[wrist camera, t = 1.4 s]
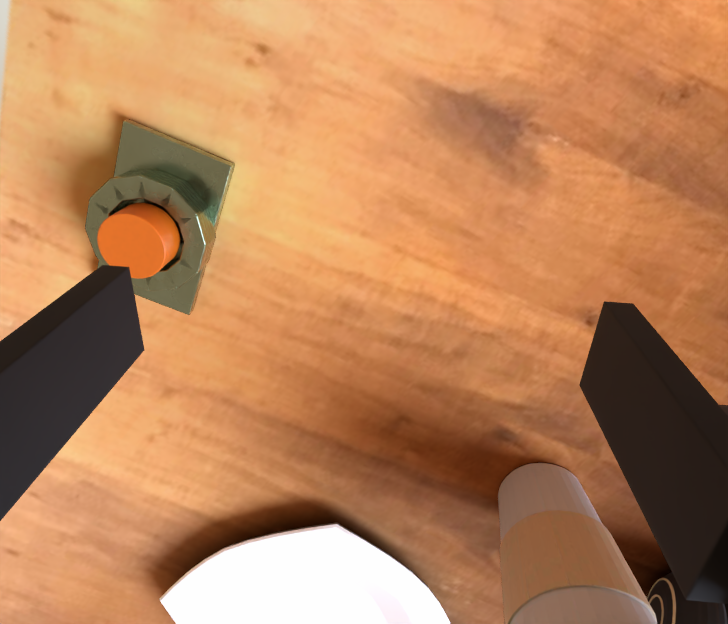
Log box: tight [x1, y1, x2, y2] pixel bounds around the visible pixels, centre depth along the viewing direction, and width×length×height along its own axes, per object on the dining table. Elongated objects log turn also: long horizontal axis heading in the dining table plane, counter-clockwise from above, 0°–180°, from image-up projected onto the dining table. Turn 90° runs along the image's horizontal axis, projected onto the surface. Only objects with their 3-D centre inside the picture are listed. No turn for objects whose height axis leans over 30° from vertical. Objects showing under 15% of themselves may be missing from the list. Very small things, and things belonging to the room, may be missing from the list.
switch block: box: [85, 119, 235, 315], centre depth 29 cm, size 10×6×2 cm, turn 158°
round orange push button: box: [97, 203, 180, 279], centre depth 28 cm, size 4×4×2 cm
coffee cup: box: [498, 463, 657, 624], centre depth 31 cm, size 9×9×15 cm
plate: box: [159, 522, 450, 624], centre depth 45 cm, size 23×23×2 cm
